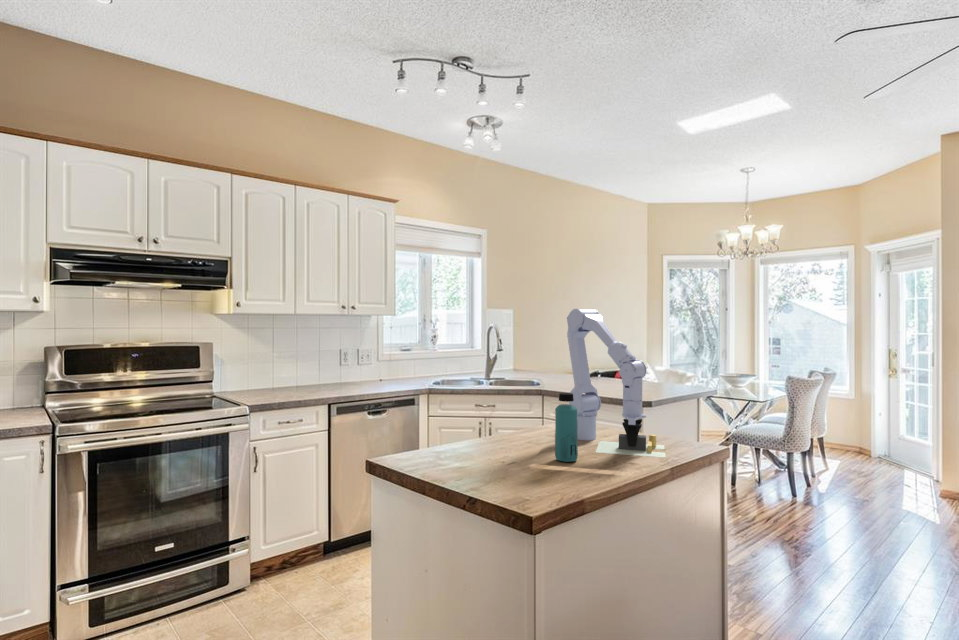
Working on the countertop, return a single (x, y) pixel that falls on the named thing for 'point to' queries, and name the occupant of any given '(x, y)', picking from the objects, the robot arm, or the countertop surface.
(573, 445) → the beverage bottle
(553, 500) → the countertop surface
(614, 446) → the pale green u-shaped slab
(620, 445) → the tall gray prism
